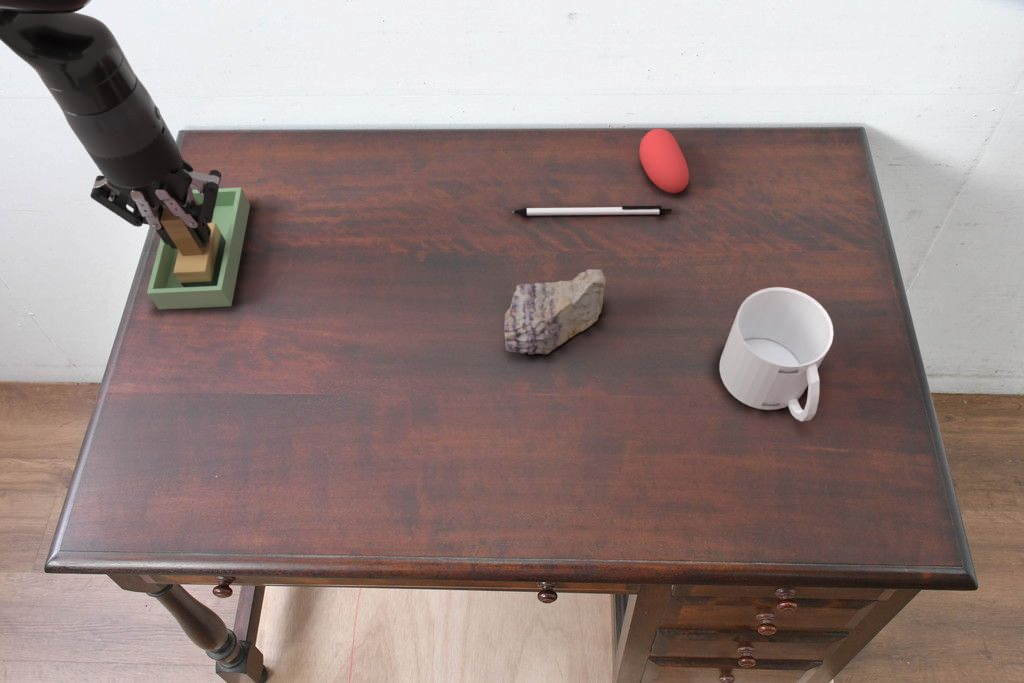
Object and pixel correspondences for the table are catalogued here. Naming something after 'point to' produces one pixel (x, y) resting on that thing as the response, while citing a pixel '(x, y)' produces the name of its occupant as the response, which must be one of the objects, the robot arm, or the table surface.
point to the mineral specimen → (553, 312)
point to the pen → (594, 210)
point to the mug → (777, 351)
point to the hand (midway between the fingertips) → (191, 241)
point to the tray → (232, 226)
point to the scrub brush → (194, 252)
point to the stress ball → (664, 161)
